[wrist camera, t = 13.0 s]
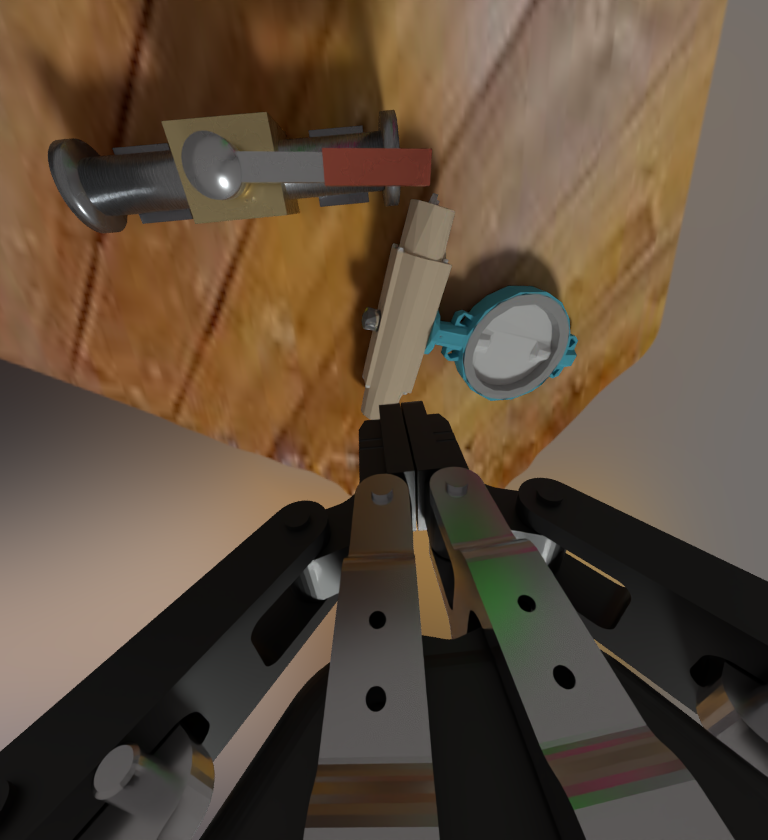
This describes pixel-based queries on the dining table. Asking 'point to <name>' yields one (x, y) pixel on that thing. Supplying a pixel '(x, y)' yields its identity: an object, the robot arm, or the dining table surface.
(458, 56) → the dining table surface
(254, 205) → the pipe valve
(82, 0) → the dining table surface
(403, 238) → the butterfly valve
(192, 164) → the valve lever
